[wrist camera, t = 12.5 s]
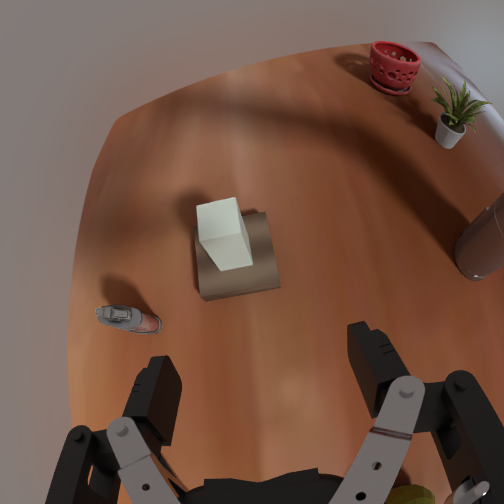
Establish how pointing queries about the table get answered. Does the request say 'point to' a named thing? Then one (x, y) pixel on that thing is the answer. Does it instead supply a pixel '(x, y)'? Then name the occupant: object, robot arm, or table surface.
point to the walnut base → (243, 278)
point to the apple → (410, 495)
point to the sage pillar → (224, 234)
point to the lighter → (128, 319)
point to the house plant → (454, 116)
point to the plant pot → (393, 68)
